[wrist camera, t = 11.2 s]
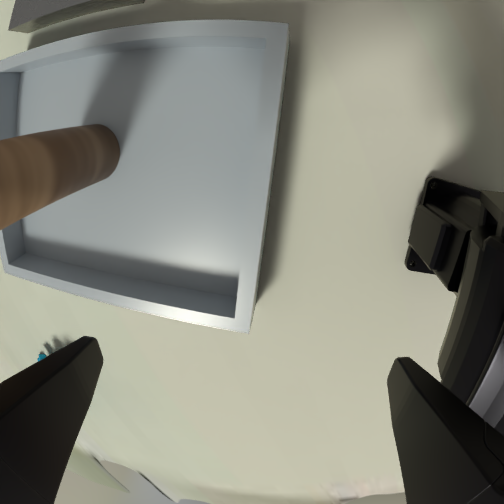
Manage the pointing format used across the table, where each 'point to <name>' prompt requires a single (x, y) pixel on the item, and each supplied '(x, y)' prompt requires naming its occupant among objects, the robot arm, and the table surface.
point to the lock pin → (52, 167)
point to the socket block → (56, 11)
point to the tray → (156, 165)
